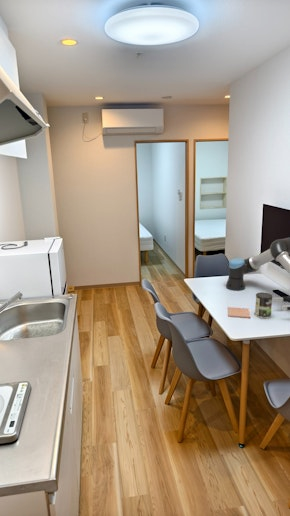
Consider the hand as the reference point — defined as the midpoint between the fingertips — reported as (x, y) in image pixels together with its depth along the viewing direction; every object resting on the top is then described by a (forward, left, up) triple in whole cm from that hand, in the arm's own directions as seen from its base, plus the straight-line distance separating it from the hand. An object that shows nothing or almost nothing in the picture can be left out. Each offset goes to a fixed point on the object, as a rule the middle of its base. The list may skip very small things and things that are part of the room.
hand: (277, 303), depth 226 cm
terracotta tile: (+2, -24, -8) cm, 26 cm away
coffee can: (+2, -9, -8) cm, 12 cm away
